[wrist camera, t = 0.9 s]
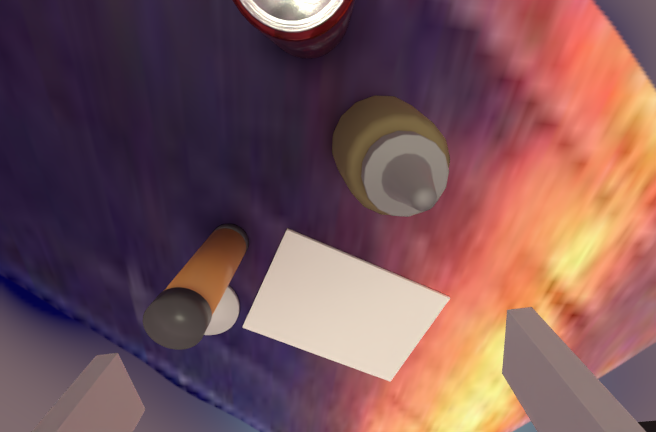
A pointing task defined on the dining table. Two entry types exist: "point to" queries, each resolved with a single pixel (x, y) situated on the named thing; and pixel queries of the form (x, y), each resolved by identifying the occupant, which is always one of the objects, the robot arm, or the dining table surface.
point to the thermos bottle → (196, 290)
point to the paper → (342, 307)
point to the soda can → (300, 23)
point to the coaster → (224, 313)
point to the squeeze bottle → (391, 156)
